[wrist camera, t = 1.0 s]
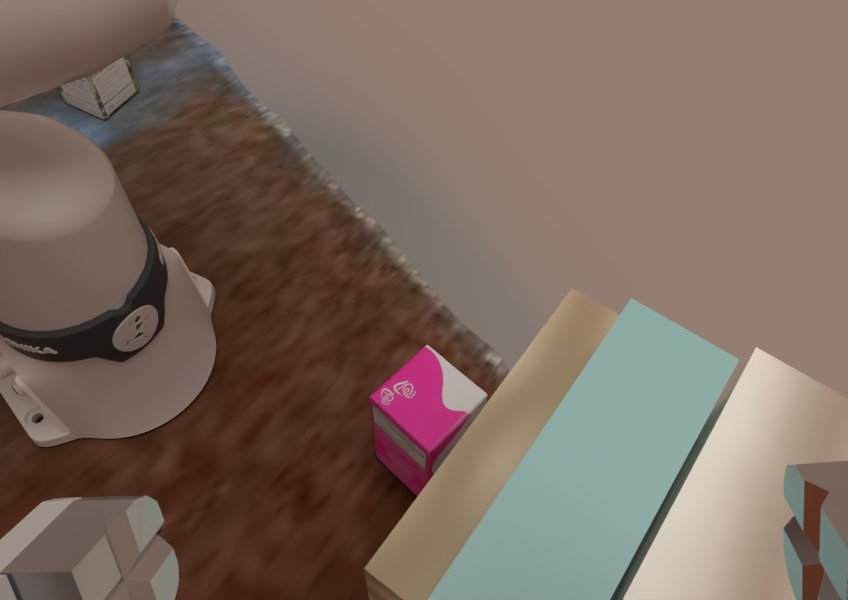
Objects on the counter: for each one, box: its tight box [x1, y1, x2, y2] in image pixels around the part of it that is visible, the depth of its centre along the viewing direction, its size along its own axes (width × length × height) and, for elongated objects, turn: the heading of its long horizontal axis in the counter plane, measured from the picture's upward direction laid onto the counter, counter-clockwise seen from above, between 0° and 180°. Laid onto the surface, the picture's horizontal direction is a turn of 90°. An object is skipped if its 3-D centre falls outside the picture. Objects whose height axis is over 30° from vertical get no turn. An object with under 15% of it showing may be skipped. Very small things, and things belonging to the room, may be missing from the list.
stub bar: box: [428, 299, 739, 600], centre depth 21 cm, size 4×20×4 cm, turn 144°
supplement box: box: [370, 345, 487, 497], centre depth 50 cm, size 6×6×12 cm
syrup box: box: [57, 55, 139, 120], centre depth 70 cm, size 6×6×14 cm
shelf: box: [364, 288, 848, 600], centre depth 35 cm, size 14×14×32 cm
